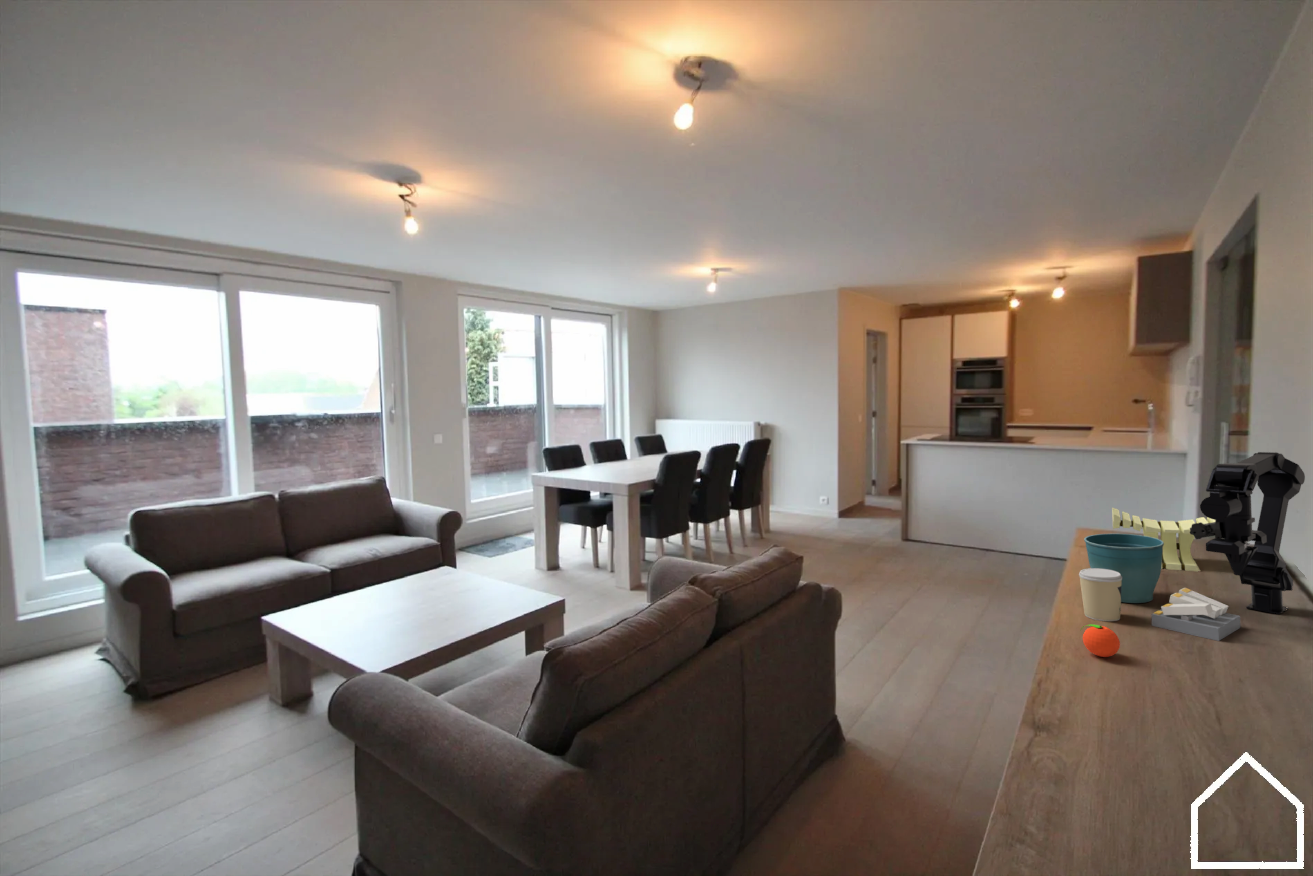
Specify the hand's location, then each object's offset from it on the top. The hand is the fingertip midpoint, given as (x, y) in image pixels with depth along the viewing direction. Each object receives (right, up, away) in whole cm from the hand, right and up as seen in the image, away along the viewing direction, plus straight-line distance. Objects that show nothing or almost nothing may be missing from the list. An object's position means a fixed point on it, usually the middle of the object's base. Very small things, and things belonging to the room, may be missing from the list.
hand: (1237, 575), depth 149 cm
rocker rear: (-8, -7, +2) cm, 10 cm away
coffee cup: (-26, -14, +11) cm, 32 cm away
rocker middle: (-11, -8, -1) cm, 14 cm away
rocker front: (-15, -8, -3) cm, 18 cm away
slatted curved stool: (+27, -8, +50) cm, 58 cm away
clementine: (-44, -16, -11) cm, 48 cm away
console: (-11, -13, 0) cm, 17 cm away
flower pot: (-10, -12, +23) cm, 28 cm away
